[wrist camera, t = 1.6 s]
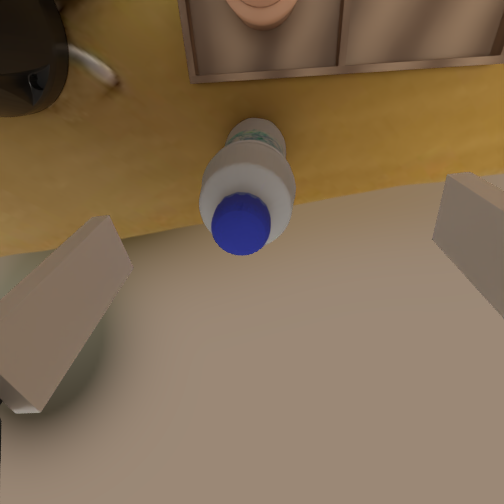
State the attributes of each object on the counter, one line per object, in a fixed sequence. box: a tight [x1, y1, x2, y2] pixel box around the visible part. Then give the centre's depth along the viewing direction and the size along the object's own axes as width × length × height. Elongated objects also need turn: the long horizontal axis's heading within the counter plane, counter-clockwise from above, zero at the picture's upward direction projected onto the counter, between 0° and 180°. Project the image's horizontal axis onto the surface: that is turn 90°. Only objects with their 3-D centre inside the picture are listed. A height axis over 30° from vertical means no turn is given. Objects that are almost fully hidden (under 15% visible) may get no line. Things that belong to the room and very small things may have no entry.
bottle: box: [199, 118, 296, 255], centre depth 24 cm, size 7×7×20 cm
